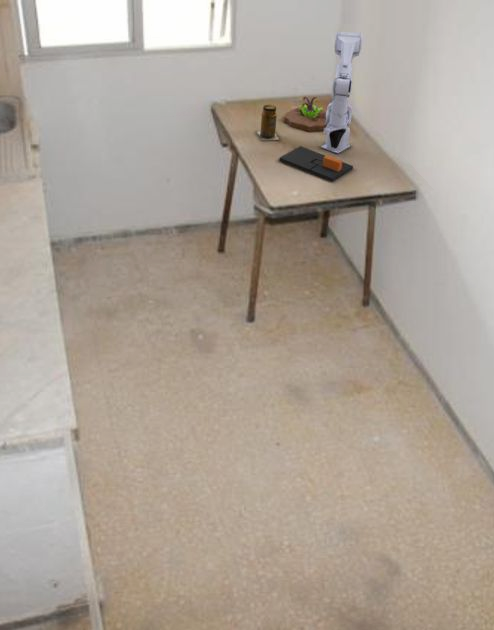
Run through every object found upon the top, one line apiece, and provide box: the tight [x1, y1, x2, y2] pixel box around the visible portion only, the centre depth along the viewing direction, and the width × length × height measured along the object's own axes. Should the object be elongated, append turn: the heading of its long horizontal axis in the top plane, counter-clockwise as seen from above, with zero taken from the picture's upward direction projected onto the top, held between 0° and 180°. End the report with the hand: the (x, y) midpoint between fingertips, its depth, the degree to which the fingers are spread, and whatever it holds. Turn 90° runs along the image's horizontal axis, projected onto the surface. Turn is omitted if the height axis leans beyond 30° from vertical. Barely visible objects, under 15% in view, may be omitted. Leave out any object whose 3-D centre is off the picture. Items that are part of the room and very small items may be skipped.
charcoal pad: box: [309, 155, 354, 183], centre depth 271 cm, size 14×13×5 cm
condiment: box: [256, 104, 280, 141], centre depth 290 cm, size 7×8×12 cm
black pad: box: [278, 145, 326, 174], centre depth 277 cm, size 14×14×2 cm
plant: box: [283, 96, 327, 133], centre depth 304 cm, size 20×20×11 cm
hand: (334, 147), depth 267 cm, fingers closed
